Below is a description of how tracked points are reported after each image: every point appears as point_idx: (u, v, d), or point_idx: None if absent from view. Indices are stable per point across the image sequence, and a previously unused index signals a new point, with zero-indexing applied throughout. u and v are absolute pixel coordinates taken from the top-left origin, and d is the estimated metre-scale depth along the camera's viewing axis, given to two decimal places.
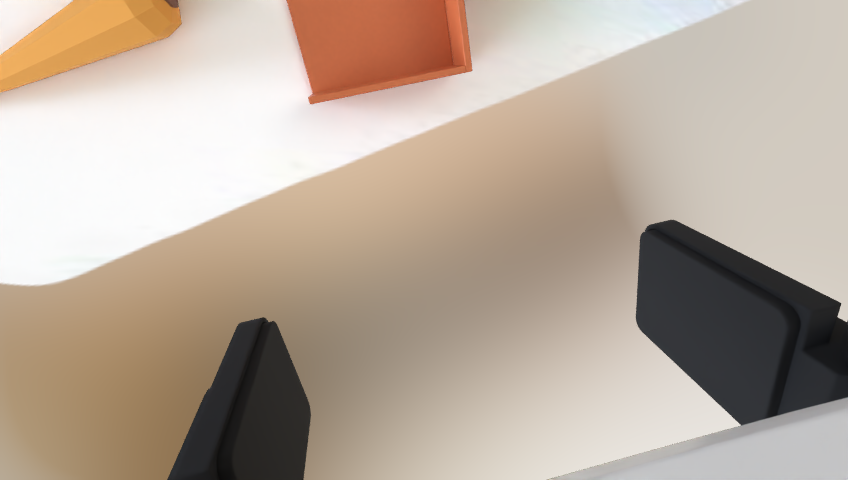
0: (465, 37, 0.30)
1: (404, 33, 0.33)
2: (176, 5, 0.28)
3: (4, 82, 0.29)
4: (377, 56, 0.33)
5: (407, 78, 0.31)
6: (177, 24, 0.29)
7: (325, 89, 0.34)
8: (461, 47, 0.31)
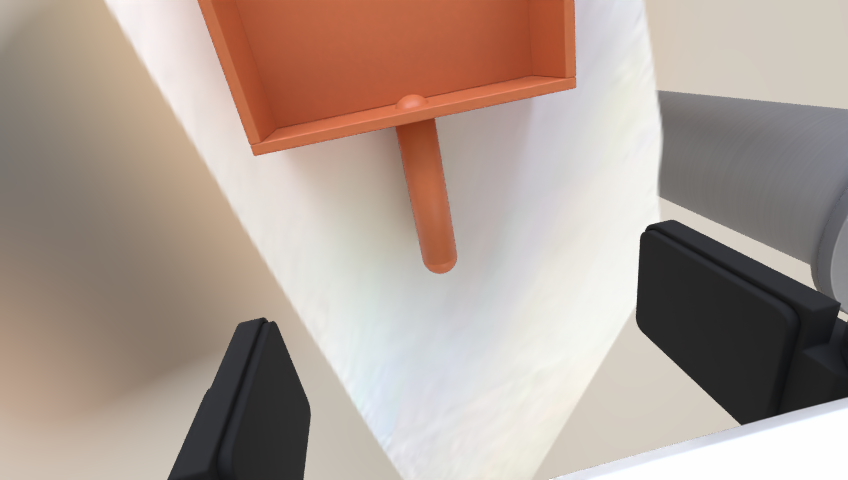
0: (305, 139, 0.18)
1: (313, 41, 0.20)
2: None
3: None
4: None
5: (218, 28, 0.16)
6: None
7: None
8: (291, 134, 0.18)
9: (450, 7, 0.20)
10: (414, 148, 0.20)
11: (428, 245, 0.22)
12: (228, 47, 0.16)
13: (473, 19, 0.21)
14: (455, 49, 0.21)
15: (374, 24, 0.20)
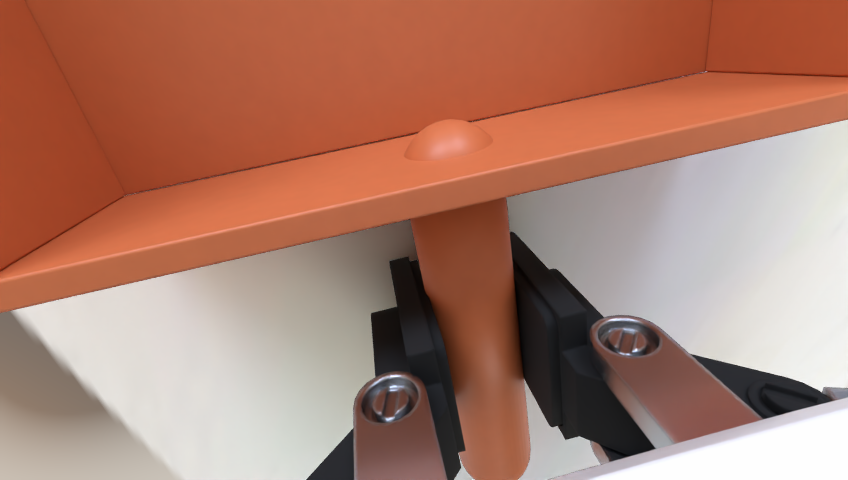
0: (130, 269, 0.06)
1: None
2: None
3: None
4: None
5: None
6: None
7: None
8: (98, 247, 0.06)
9: None
10: (456, 259, 0.08)
11: (476, 446, 0.10)
12: None
13: None
14: (545, 9, 0.09)
15: None
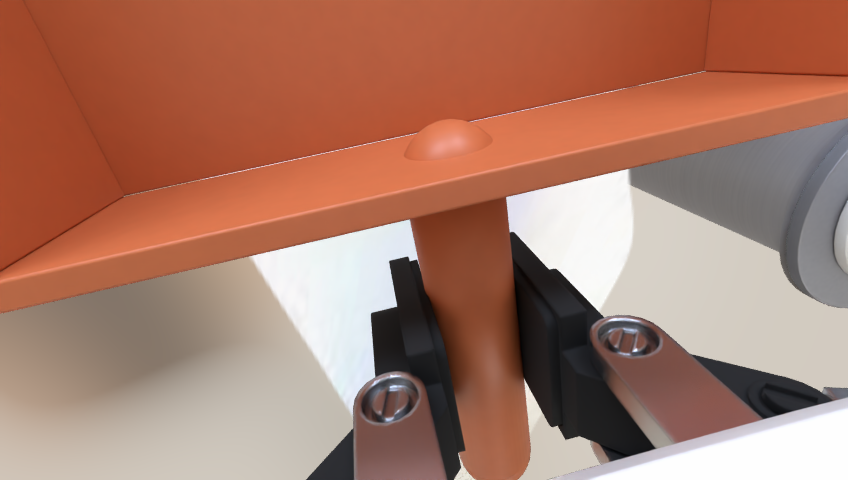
0: (130, 269, 0.06)
1: None
2: None
3: None
4: None
5: None
6: None
7: None
8: (97, 247, 0.06)
9: None
10: (456, 259, 0.08)
11: (476, 445, 0.10)
12: None
13: None
14: (544, 9, 0.09)
15: None
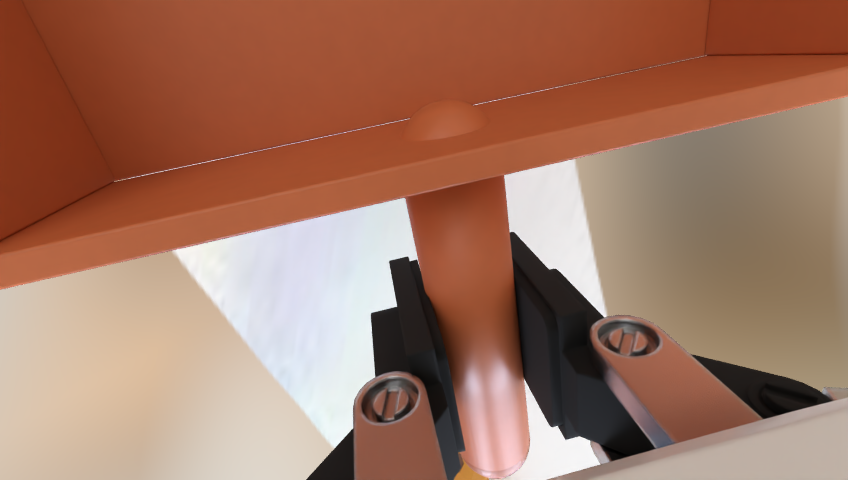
0: (117, 247, 0.06)
1: None
2: (460, 456, 0.33)
3: None
4: None
5: None
6: None
7: None
8: (84, 226, 0.06)
9: None
10: (453, 242, 0.08)
11: (474, 436, 0.10)
12: None
13: None
14: None
15: None
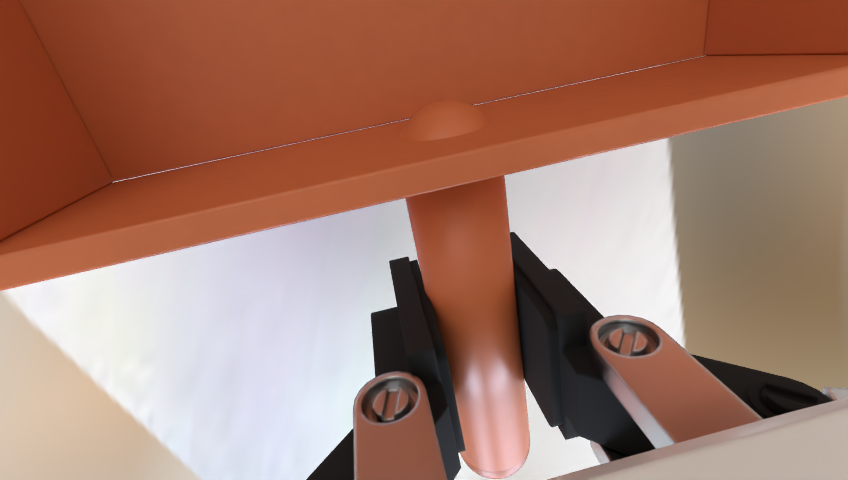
0: (117, 248, 0.06)
1: None
2: None
3: None
4: None
5: None
6: None
7: None
8: (83, 227, 0.06)
9: None
10: (454, 242, 0.08)
11: (475, 436, 0.10)
12: None
13: None
14: None
15: None
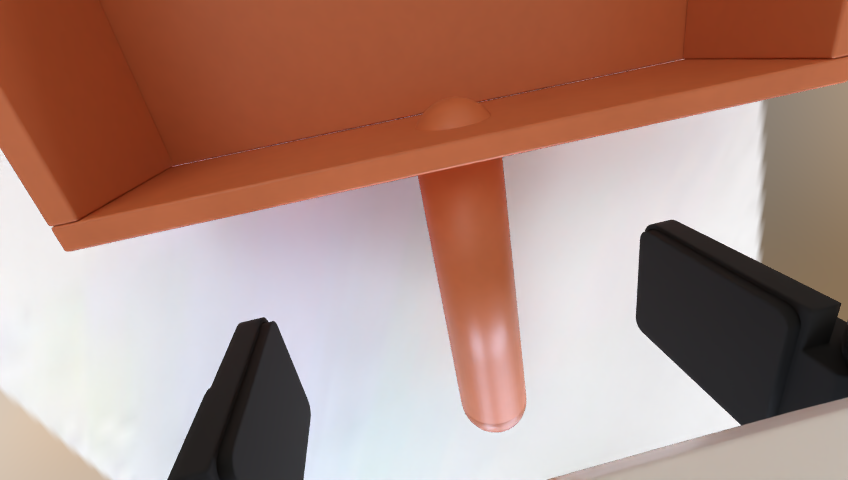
0: (195, 211, 0.07)
1: None
2: None
3: None
4: None
5: None
6: None
7: None
8: (166, 196, 0.08)
9: None
10: (459, 217, 0.09)
11: (476, 391, 0.11)
12: None
13: None
14: (538, 3, 0.10)
15: None
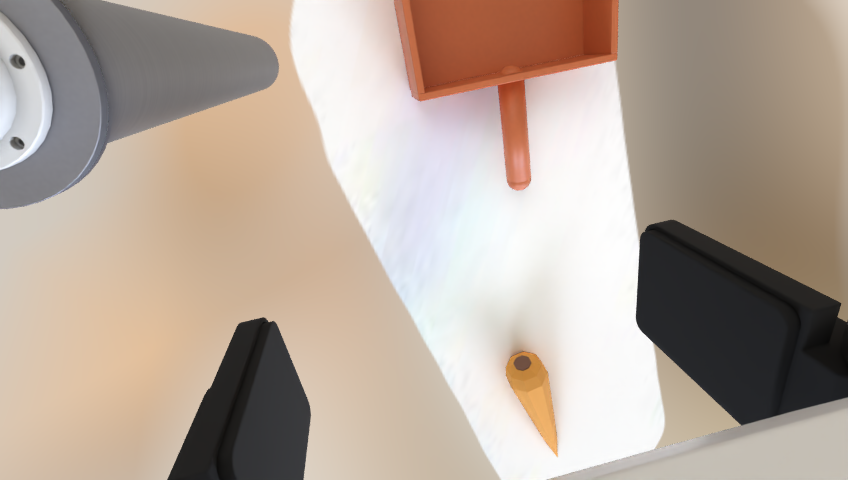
0: (451, 91, 0.29)
1: (446, 31, 0.31)
2: (528, 358, 0.43)
3: (554, 434, 0.50)
4: None
5: (411, 21, 0.27)
6: (538, 358, 0.44)
7: None
8: (440, 88, 0.29)
9: (533, 9, 0.32)
10: (512, 100, 0.31)
11: (514, 168, 0.33)
12: (414, 33, 0.27)
13: (548, 16, 0.32)
14: (535, 36, 0.32)
15: (485, 20, 0.31)
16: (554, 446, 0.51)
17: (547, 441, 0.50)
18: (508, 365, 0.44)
